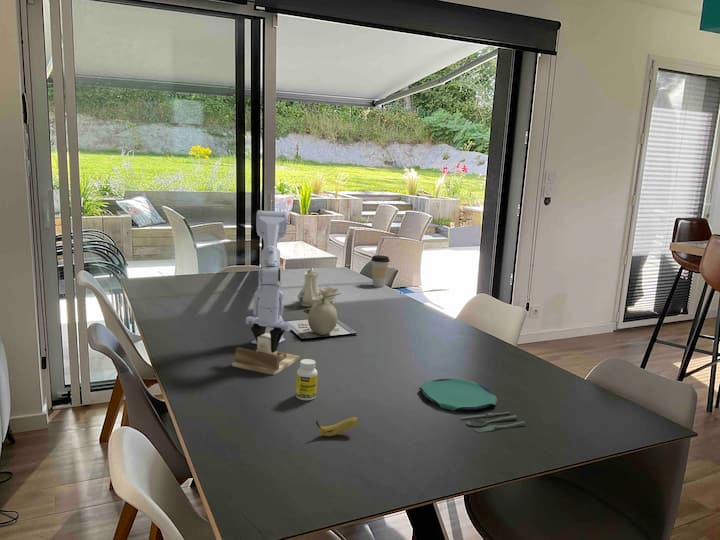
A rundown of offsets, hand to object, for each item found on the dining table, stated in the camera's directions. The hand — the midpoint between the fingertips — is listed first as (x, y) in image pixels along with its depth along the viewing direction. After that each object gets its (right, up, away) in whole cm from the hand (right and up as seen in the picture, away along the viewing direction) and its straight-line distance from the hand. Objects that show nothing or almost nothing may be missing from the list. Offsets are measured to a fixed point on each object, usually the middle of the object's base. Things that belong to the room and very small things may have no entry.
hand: (267, 350), depth 177 cm
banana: (+23, -14, -43) cm, 51 cm away
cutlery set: (+56, -12, -21) cm, 62 cm away
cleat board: (0, -4, +1) cm, 4 cm away
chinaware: (+9, +9, +75) cm, 76 cm away
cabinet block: (0, -3, 0) cm, 3 cm away
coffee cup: (+38, +16, +121) cm, 128 cm away
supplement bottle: (+14, -9, -23) cm, 28 cm away
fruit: (+14, +1, +33) cm, 36 cm away
